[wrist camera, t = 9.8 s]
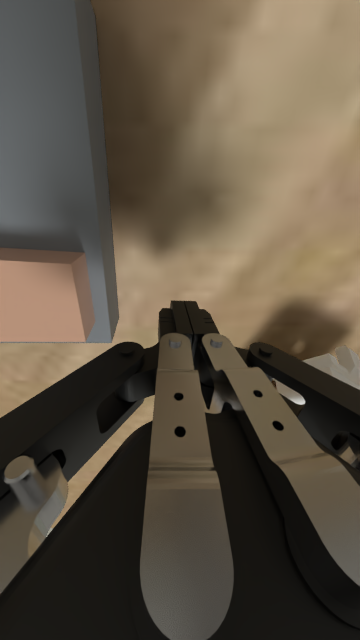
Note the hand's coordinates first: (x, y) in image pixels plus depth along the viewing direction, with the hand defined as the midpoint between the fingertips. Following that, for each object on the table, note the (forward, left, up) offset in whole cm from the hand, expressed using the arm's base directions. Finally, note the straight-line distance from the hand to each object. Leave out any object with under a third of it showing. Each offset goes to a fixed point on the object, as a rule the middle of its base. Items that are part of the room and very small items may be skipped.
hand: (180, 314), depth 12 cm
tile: (0, -8, -3) cm, 9 cm away
